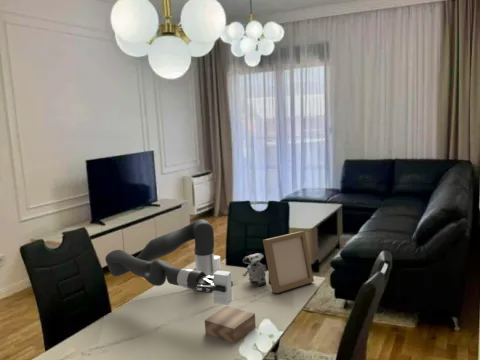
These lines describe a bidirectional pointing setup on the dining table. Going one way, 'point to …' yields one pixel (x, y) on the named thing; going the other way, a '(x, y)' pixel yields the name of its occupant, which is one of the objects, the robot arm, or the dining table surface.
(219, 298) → the skincare box
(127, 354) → the dining table surface
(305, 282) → the photo frame
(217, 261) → the white round piece
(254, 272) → the figurine
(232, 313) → the walnut block
